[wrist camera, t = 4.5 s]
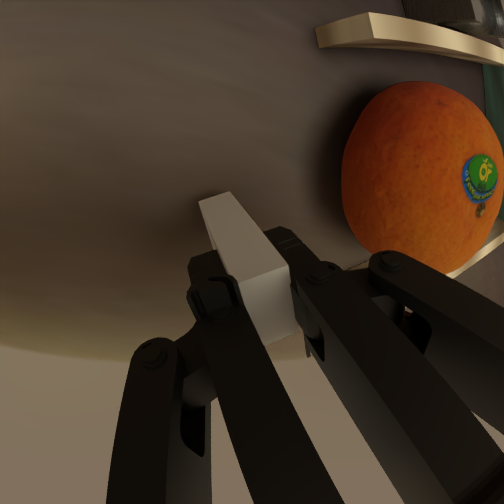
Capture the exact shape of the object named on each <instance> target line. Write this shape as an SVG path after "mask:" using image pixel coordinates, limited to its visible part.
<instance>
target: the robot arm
mask: <svg viewBox="0 0 504 504" xmlns="http://www.w3.org/2000/svg"><path fill="white" fill-rule="evenodd" d="M198 203H199V206H200V209H201V212H202V215H203V219H204V222H205V225H206V228H207V231H208V234H209V237H210V241H211V244H212V247H213V250H212V251H209V252H207V253H204V254H201V255H198V256H195V257H192V258H191V259H190V262H189V264H188V267H187V268H188V273H189V276H190V281H191V286H190V288H189V289H188V291H187V296H186V299H187V301H188V304H189V306H190V308H191V310H192V312H193V314H194V316H195V318H196V323H195V324H194V326H193V327H192V328H191V330H190V331H189V332H187V333H186V334H185V335H184V336H182V337H180V338H179V339H177V340H176V341H174V342H173V341H172V340H169V339H167V338H158V337H157V338H154V339H150V340H148V341H146V342H145V343H143V344H141V345H140V346H139V347H138V348H137V349H136V351H135V352H134V354H133V356H132V358H131V362H130V366H129V371H128V375H127V379H126V383H125V388H124V392H123V398H122V402H121V407H120V412H119V417H118V423H117V428H116V433H115V439H114V446H113V451H112V458H111V466H110V472H109V481H108V489H107V498H106V504H212V487H211V401H212V400H214V399H215V398H217V397H218V401H219V404H220V407H221V411H222V414H223V417H224V420H225V423H226V426H227V430H228V432H229V436H230V439H231V442H232V445H233V448H234V451H235V453H236V456H237V459H238V462H239V465H240V468H241V471H242V473H243V476H244V479H245V481H246V484H247V487H248V489H249V492H250V495H251V497H252V500H253V502H254V504H345V503H344V501H343V500H342V498H341V496H340V494H339V492H338V490H337V489H336V487H335V485H334V483H333V481H332V479H331V477H330V476H329V474H328V472H327V470H326V468H325V466H324V464H323V463H322V461H321V459H320V457H319V455H318V453H317V451H316V449H315V447H314V445H313V443H312V441H311V439H310V438H309V436H308V434H307V432H306V430H305V428H304V426H303V424H302V422H301V420H300V418H299V416H298V414H297V412H296V410H295V408H294V406H293V404H292V403H291V400H290V398H289V396H288V394H287V392H286V390H285V388H284V386H283V384H282V382H281V380H280V378H279V376H278V374H277V372H276V370H275V368H274V366H273V364H272V361H271V359H270V357H269V355H268V353H267V351H266V349H265V347H264V346H265V345H268V344H270V343H273V342H275V341H278V340H280V339H283V338H285V337H288V336H290V335H292V334H295V333H297V332H299V331H298V324H299V325H300V327H301V328H302V330H303V333H304V341H305V349H306V354H307V358H308V357H310V356H311V355H310V351H311V353H312V355H313V356H314V358H315V359H316V361H317V363H318V364H319V366H320V368H321V369H322V371H323V372H324V374H325V376H326V377H327V379H328V381H329V382H330V384H331V385H332V387H333V389H334V390H335V392H336V393H337V395H338V397H339V398H340V400H341V401H342V403H343V405H344V406H345V408H346V410H347V411H348V413H349V415H350V416H351V418H352V419H353V421H354V423H355V424H356V426H357V427H358V429H359V430H360V432H361V434H362V436H363V437H364V439H365V440H366V442H367V443H368V445H369V447H370V448H371V450H372V452H373V453H374V455H375V457H376V458H377V460H378V461H379V463H380V465H381V466H382V468H383V469H384V471H385V473H386V474H387V476H388V477H389V479H390V481H391V482H392V484H393V486H394V487H395V489H396V490H397V492H398V494H399V495H400V496H401V498H402V500H403V502H404V503H405V504H504V453H503V452H502V451H501V449H500V448H499V447H498V445H497V444H496V443H495V441H494V440H493V439H492V437H491V436H490V435H489V433H488V432H487V431H486V430H485V428H484V427H483V426H482V424H481V423H480V422H479V421H478V420H477V418H476V417H475V416H474V414H473V413H472V412H474V413H475V414H476V415H478V416H479V417H480V418H482V419H483V420H484V421H486V422H487V423H488V424H490V425H491V426H493V427H494V428H495V429H496V430H498V431H499V432H501V433H502V434H503V435H504V308H503V307H501V306H500V305H498V304H496V303H495V302H493V301H491V300H490V299H488V298H486V297H484V296H483V295H481V294H479V293H477V292H476V291H474V290H472V289H470V288H468V287H467V286H465V285H463V284H461V283H459V282H458V281H456V280H454V279H452V278H450V277H448V276H447V275H445V274H443V273H441V272H439V271H437V270H435V269H433V268H431V267H429V266H428V265H426V264H424V263H422V262H420V261H418V260H416V259H414V258H412V257H410V256H408V255H406V254H404V253H401V252H398V251H394V250H384V251H379V252H377V253H375V254H373V255H372V256H371V258H370V259H369V264H368V268H362V269H356V270H347V271H343V270H342V269H341V268H340V267H339V266H337V265H336V264H334V263H331V262H327V261H320V260H319V259H318V258H317V257H316V255H315V254H314V253H313V252H312V251H311V250H310V249H309V248H308V247H307V246H306V245H305V244H304V243H302V241H301V240H300V239H299V238H297V236H296V235H295V234H294V233H293V232H292V231H291V230H289V229H286V228H284V227H281V226H279V227H276V228H273V229H270V230H267V231H264V232H262V231H261V230H260V228H259V227H258V226H257V225H256V223H255V222H254V221H253V220H252V218H251V217H250V216H249V215H248V213H247V212H246V211H245V210H244V208H243V207H242V206H241V205H240V203H239V202H238V201H237V200H236V198H235V197H234V196H233V195H232V193H231V192H230V191H228V192H225V193H222V194H219V195H216V196H213V197H210V198H207V199H204V200H201V201H198ZM405 307H407V308H409V309H410V310H412V311H413V313H409V312H407V311H405ZM297 322H298V324H297ZM470 410H471V411H472V412H471V411H470Z"/></svg>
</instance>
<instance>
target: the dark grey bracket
mask: <svg viewBox="0 0 504 504" xmlns="http://www.w3.org/2000/svg"><path fill="white" fill-rule="evenodd" d="M402 2H403V6H404V10H405V14H406V18H407V19H411V20H416V21H420V22H425V23H429V24H432V25H436V26H440V27H443V28H447V29H450V30H453V31H457V32H460V33H463V34H466V35H475V36H480V37H484V36H490V37H500V38H504V0H402Z"/></svg>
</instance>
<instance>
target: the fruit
mask: <svg viewBox="0 0 504 504" xmlns="http://www.w3.org/2000/svg"><path fill="white" fill-rule="evenodd" d="M341 190H342V203H343V208H344V213H345V216H346V219H347V221H348V224H349V226H350V228H351V230H352V232H353V234H354V235H355V237H356V238H357V239H358V241H359V242H360V244H361V245H362V246H363V247H364V248H365V249H366V250H368V251H369V252H370V253H372V254H375V253H377V252H379V251H384V250H394V251H398V252H401V253H404V254H406V255H408V256H410V257H412V258H414V259H416V260H418V261H420V262H422V263H424V264H426V265H428V266H429V267H431V268H433V269H435V270H437V271H439V272H441V273H443V274H448V273H451V272H453V271H455V270H457V269H459V268H460V267H461V266H463V265H464V264H465V263H466V262H468V261H469V260H470V259H471V258H472V257H473V256H474V255H475V254H476V253H477V251H478V250H479V249H480V248H481V247H482V245H483V244H484V242H485V241H486V239H487V237H488V235H489V233H490V231H491V228H492V226H493V224H494V221H495V219H496V217H497V215H498V213H499V210H500V206H501V203H502V198H503V190H504V157H503V152H502V148H501V145H500V142H499V140H498V138H497V136H496V134H495V132H494V130H493V128H492V126H491V124H490V123H489V121H488V120H487V119H486V117H485V116H484V114H483V113H482V112H481V111H480V109H479V108H478V107H477V106H476V105H475V104H474V103H473V102H471V101H470V100H469V99H467V98H466V97H464V96H463V95H461V94H460V93H458V92H456V91H454V90H452V89H449V88H447V87H445V86H442V85H440V84H436V83H431V82H421V81H410V82H402V83H398V84H395V85H392V86H390V87H388V88H387V89H385V90H383V91H382V92H380V93H379V94H377V95H376V96H375V97H374V98H373V99H372V100H371V101H370V102H369V103H368V105H367V106H366V107H365V108H364V110H363V111H362V113H361V115H360V116H359V118H358V120H357V122H356V124H355V126H354V128H353V130H352V132H351V134H350V136H349V139H348V141H347V144H346V146H345V149H344V153H343V160H342V169H341Z"/></svg>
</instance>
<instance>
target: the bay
mask: <svg viewBox="0 0 504 504" xmlns="http://www.w3.org/2000/svg"><path fill="white" fill-rule="evenodd" d="M315 32H316V36H317V41H318V45H319V48H341V47H354V48H382V49H396V50H407V51H416V52H424V53H431V54H437V55H443V56H449V57H454V58H459V59H464V60H468V61H473V62H477V63H481V64H482V67H483V77H484V89H485V109H486V119H487V120H488V121H489V123H490V124H491V126H492V128H493V130H494V132H495V134H496V136H497V138H498V140H499V142H500V145H501V148H502V152H503V157H504V49H501V48H499V47H497V46H494V45H492V44H490V43H487V42H485V41H482V40H479V39H477V38H474V37H471V36H469V35H466V34H463V33H460V32H457V31H453V30H450V29H447V28H443V27H440V26H436V25H432V24H429V23H425V22H420V21H416V20H411V19H407V18H402V17H396V16H391V15H384V14H378V13H370V12H367V13H363V14H360V15H356V16H352V17H349V18H345V19H342V20H338V21H335V22H332V23H329V24H326V25H323V26H320V27H317V28H315ZM502 242H504V190H503V198H502V203H501V206H500V210H499V213H498V215H497V217H496V219H495V221H494V224H493V226H492V228H491V231H490V233H489V235H488V237H487V239H486V241H485V242H484V244H483V245H482V247H481V248H480V249H479V250H478V251H477V253H476V254H475V255H474V256H473V257H472V258H471V259H470V260H469V261H468V262H466V263H465V264H464V265H463V266H461V267H460V268H459V269H457V270H455V271H453V272H451V273H448V274H445V275H447V276H448V277H450V278H452V279H453V278H454V277H456V276H457V275H459V274H460V273H462V272H463V271H465V270H466V269H468V268H469V267H470V266H472V265H473V264H475V263H476V262H477V261H479V260H480V259H481V258H483V257H484V256H485V255H487V254H488V253H489V252H491V251H492V250H493V249H495V248H496V247H497V246H499V245H500V244H501V243H502ZM368 264H369V261H367V262H364V263H362V264H360V265H357V266H355V267H353V268H351V269H348V270H356V269H362V268H368ZM346 271H347V270H346ZM405 308H407V307H405Z"/></svg>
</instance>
